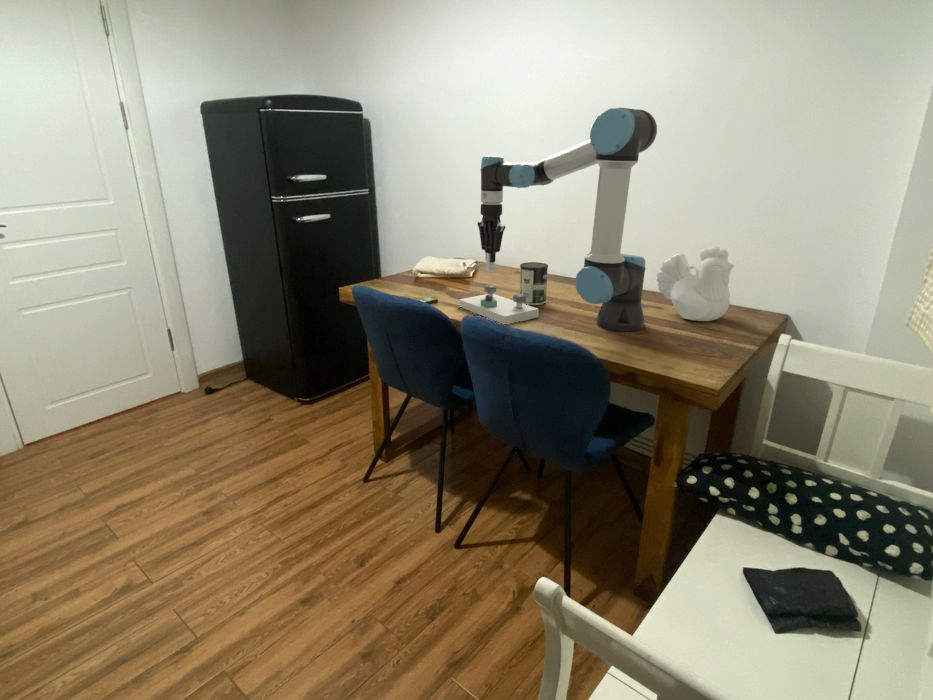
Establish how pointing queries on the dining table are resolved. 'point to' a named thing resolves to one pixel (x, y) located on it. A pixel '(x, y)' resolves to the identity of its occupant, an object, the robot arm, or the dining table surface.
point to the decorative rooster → (697, 284)
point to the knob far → (490, 289)
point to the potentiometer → (488, 302)
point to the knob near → (519, 300)
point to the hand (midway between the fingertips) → (490, 270)
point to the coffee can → (533, 282)
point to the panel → (500, 309)
